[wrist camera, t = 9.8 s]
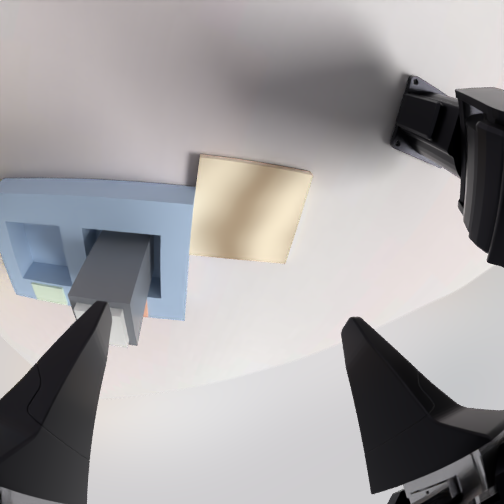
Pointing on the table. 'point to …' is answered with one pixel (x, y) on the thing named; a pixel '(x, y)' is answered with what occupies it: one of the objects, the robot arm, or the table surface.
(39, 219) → the dock
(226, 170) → the coaster
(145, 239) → the plug
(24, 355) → the table surface
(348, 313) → the table surface
